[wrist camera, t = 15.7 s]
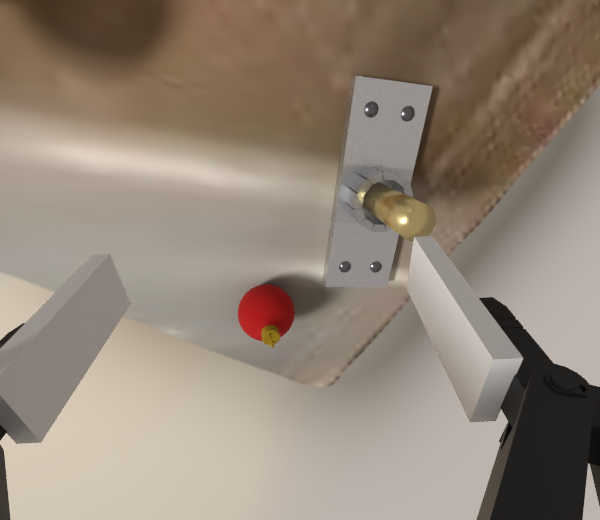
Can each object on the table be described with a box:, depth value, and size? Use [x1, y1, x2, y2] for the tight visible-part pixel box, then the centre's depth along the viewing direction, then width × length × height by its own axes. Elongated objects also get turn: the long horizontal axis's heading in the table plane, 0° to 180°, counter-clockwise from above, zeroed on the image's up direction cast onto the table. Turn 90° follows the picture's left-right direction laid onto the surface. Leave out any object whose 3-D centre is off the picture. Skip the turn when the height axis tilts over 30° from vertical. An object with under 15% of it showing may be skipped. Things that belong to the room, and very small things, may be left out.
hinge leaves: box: [323, 76, 433, 287], centre depth 40 cm, size 25×9×4 cm, turn 174°
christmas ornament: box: [238, 285, 294, 348], centre depth 41 cm, size 7×7×10 cm
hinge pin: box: [362, 182, 436, 241], centre depth 35 cm, size 4×4×11 cm
